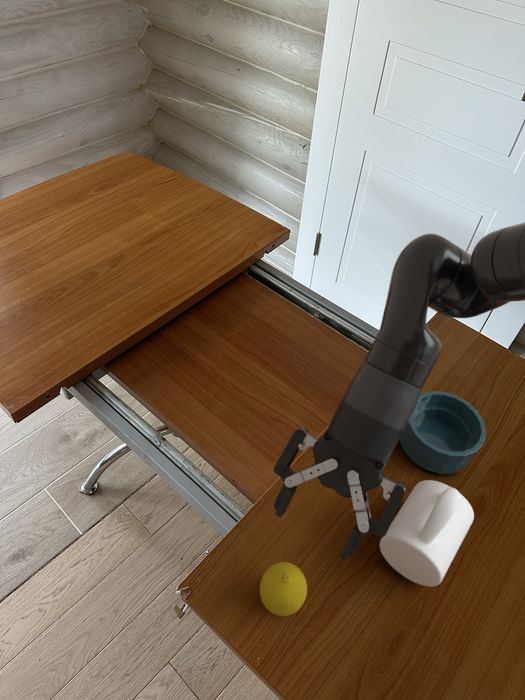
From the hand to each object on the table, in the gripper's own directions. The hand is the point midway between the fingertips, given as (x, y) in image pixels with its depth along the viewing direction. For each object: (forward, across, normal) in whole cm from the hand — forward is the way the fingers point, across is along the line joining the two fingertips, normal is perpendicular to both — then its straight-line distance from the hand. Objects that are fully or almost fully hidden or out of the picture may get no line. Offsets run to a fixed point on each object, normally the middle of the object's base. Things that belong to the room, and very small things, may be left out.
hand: (310, 534), depth 59 cm
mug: (-1, +12, +15) cm, 19 cm away
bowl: (-13, +8, +26) cm, 31 cm away
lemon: (+10, 0, +3) cm, 11 cm away
